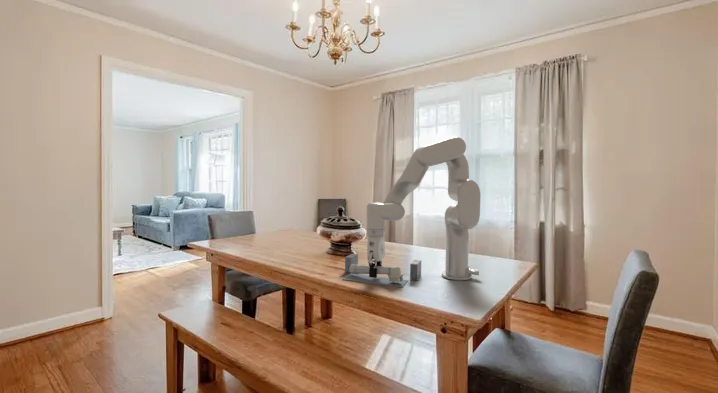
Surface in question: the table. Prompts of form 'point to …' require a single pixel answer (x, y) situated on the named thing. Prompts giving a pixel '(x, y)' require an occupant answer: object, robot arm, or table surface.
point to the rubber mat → (374, 280)
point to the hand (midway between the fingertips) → (375, 274)
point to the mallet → (378, 271)
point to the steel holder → (414, 266)
